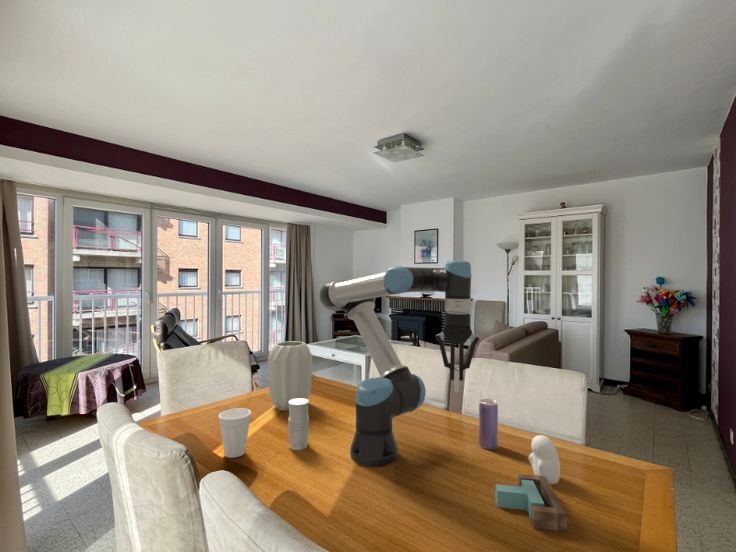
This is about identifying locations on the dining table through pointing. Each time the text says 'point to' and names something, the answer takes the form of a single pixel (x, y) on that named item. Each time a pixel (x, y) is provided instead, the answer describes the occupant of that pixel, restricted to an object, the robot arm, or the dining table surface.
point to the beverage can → (488, 424)
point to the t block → (518, 496)
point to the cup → (234, 431)
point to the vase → (289, 372)
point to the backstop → (546, 506)
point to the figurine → (545, 459)
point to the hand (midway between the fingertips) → (456, 390)
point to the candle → (298, 423)
